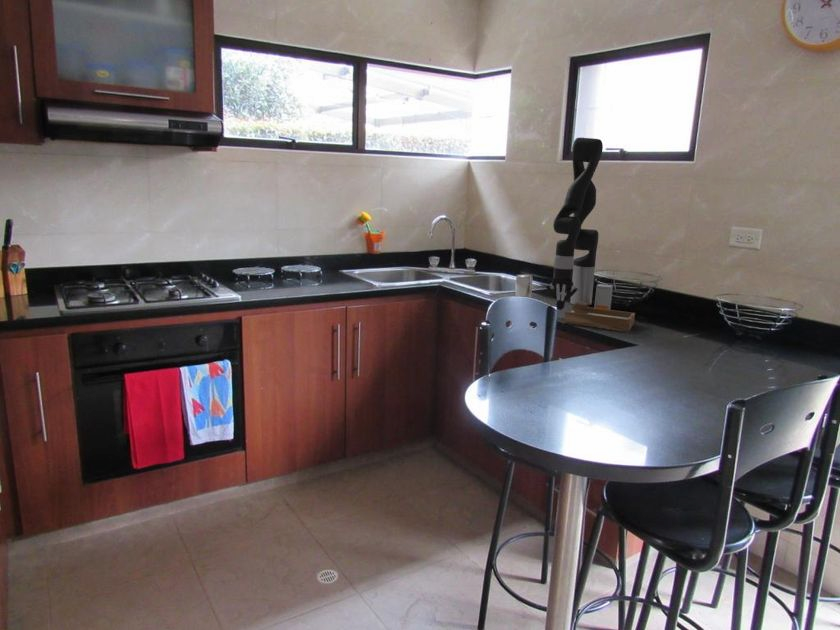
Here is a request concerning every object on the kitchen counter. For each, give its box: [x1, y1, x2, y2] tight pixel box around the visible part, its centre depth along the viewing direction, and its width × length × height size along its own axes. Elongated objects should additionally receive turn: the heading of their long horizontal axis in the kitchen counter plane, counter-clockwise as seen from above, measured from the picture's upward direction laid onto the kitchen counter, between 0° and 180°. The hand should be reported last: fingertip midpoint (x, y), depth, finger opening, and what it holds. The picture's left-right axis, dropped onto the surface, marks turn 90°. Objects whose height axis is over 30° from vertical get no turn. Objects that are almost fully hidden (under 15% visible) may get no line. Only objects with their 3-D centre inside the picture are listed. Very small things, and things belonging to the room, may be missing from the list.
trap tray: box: [563, 304, 636, 333], centre depth 238 cm, size 14×24×4 cm, turn 64°
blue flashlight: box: [514, 274, 533, 298], centre depth 255 cm, size 7×7×15 cm
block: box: [574, 302, 589, 314], centre depth 244 cm, size 4×4×4 cm
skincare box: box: [593, 283, 614, 310], centre depth 256 cm, size 6×4×12 cm
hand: (560, 309), depth 248 cm, fingers closed
